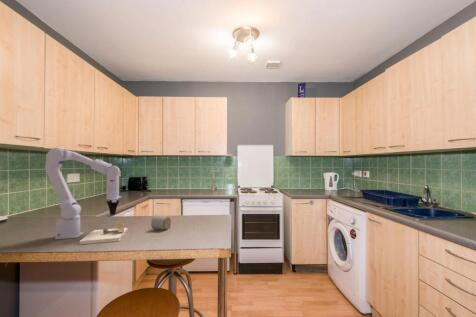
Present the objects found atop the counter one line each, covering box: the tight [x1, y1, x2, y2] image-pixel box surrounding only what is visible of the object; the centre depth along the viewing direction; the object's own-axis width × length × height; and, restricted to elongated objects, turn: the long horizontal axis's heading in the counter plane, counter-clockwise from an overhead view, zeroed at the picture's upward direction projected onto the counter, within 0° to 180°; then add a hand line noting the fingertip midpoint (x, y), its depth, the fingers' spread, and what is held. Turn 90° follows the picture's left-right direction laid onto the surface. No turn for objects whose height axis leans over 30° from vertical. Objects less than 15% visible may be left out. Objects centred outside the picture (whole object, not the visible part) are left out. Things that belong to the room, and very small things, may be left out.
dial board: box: [79, 227, 128, 245], centre depth 115 cm, size 16×18×2 cm
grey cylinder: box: [150, 214, 172, 231], centre depth 129 cm, size 11×8×8 cm
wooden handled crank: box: [102, 220, 125, 234], centre depth 116 cm, size 9×2×5 cm, turn 103°
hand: (112, 214), depth 123 cm, fingers closed
